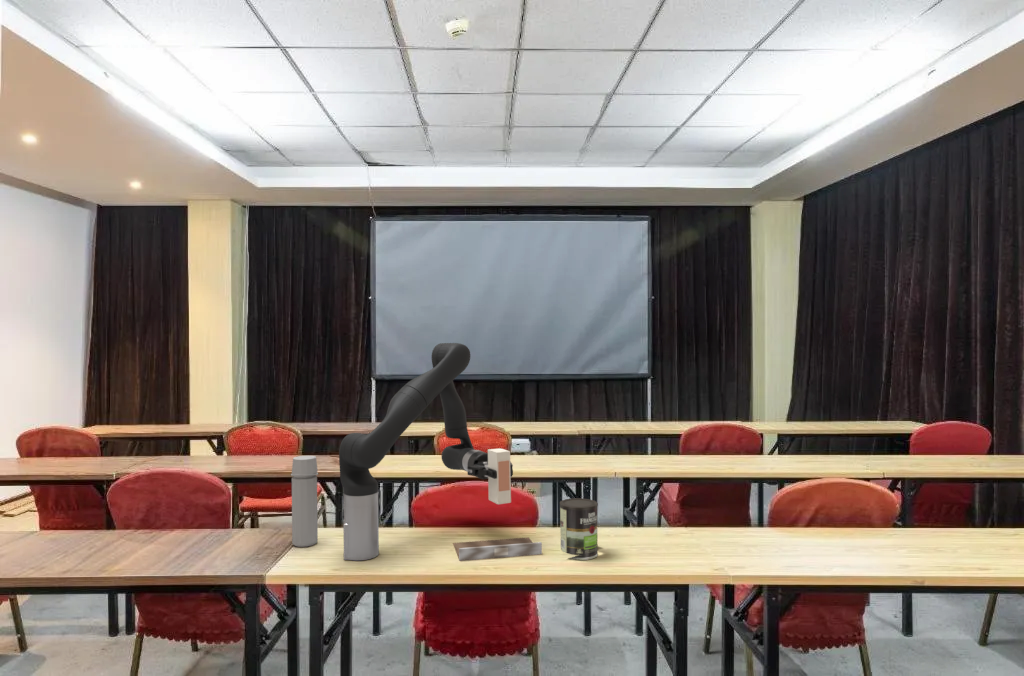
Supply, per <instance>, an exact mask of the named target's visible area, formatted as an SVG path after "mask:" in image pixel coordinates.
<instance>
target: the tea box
mask: <svg viewBox="0 0 1024 676" xmlns="http://www.w3.org/2000/svg"><path fill="white" fill-rule="evenodd" d="M487 453H488V467H490V469H494V470H496V471H497V479H493V478H491V477H488V478H487V479H488V481H487V484H488V485H487V487H488V501H490V502H492V503H494V504H496V505H504V504H510V503H512V486H511V484H512V483H511V482H512V481H511V479H512V477H511V475H510V462H511V451H510V450H507V449H504V448H490V449H487Z"/></svg>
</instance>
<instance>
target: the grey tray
mask: <svg viewBox="0 0 1024 676" xmlns="http://www.w3.org/2000/svg"><path fill="white" fill-rule="evenodd" d="M452 545H453V548H454V551H455V553H456V556H457V558H458V561H460V562H463V561H476V560H489V559H500V558H514V557H526V556H537V555H538V556H540V555H542V554H543V551H542V549H543V546H542V545H543V543H542V541H538V542H537V541H536V542H535V541H534V542H533V541H532V540H531V539H530V537H517V538H516V537H515V538H502V539H489V540H475V541H464V542H463V541H461V542H453V543H452Z"/></svg>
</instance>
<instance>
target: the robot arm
mask: <svg viewBox="0 0 1024 676" xmlns="http://www.w3.org/2000/svg"><path fill="white" fill-rule="evenodd" d="M470 360H471V350H470V349H469V348H468V346H467V345H466V344H464V343H459V342H443V343H442V342H441V343H438V344H436V345H435V346H434V347H433V349H432V352H431V364H432V368H431V369H429V370H428V371H426V372H424V373H422V374H420V375H418V376H416V377H415V378H412V379H411V380H409V381H408V382H407V383H405V385H403V386H402V387H401V388H400V389H399V390H398V391H397V392H396V393H395V394H394V396H393V397H392V398H391V399H390V402H389V404H388V406H387V411H386V415H385V417H384V418H383V420H381V422H380V423H379V424H378V425H377V426H376V427H375V428H374V429H373V430H372V431H371V432H369V433H361V432H360V433H359V432H351V433H348V434H347V435H346V436H344V438H342V440H341V443H340V445H339V451H338V461H339V462H338V463H339V475H340V476H339V479H340V480H339V481H340V483H341V486H342V488H343V526H342V530H343V560H345V561H346V560H350V561H365V560H366V561H367V560H371V559H374V558H376V557H377V556H379V554H380V552H379V551H380V543H379V542H380V541H379V537H380V536H379V533H380V532H379V527H380V526H379V483H378V481H377V479H376V478H375V477H374V476H373V475H372V473H371V472H370V470H371V469H373V468H375V467H376V466H378V465H379V464H380V463H381V462H382V460H383V459H384V458H385V457H386V455H387V454H388V452H389V451H390V450H391V448H392V447H393V446H394V444H395V443H396V442H397V441H398V439H399V438H400V437H401V435H402V434H403V433H404V432H405V431H406V430H407V429H408V428H409V427H410V426H411V424H412V423H413V422H414V421H415V420H416V419H417V418H418V417H419V416H420V415H421V414H422V413H423V412H424V411H425V410H426V409H427V408H428V406H429V405H430V404H431V403H432V402H433V401H434V399H435V398H437V397H438V395H439V396H440V397H439V398H440V401H441V406H442V412H443V421H444V422H443V423H444V432H445V436H446V437H447V438H448V439H452V440H453V439H456V440H457V439H458V440H460V443H459V444H453V445H448V446H446V447H445V448H443V450H442V452H441V456H440V457H441V462H442V464H443V465H444V466H445V467H446V468H447V469H449V470H456V471H464V472H467V476H471V477H472V476H473V477H476V478H477V479H480V480H486V479H488V477H491V478H493V479H497V471H496V470H494V469H490V467H488V452H485V451H482V450H480V449H475V448H474V445H473V442H472V440H471V437H470V434H469V431H468V423H467V412H466V408H465V405H464V403H463V401H462V399H461V397H460V396H459V394H458V393H459V392H457V389H456V387H455V384H454V380H455V379H456V378H457V377H459V375H461V374H462V373H463V372H464V371H465V370H466V369H467V367H468V366H469V364H470V362H471V361H470ZM513 466H514V465H513V463H512V462H511V461H510V475H511V478H512V477H513V475H514V470H513Z"/></svg>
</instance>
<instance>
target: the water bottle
mask: <svg viewBox="0 0 1024 676" xmlns="http://www.w3.org/2000/svg"><path fill="white" fill-rule="evenodd" d="M318 472H319V471H318V462H317V456H316V455H299V456H294V457H293V458H292V466H291V473H290V476H291V532H292V533H291V538H292V539H291V541H292V542H291V544H292V546H295V547H297V548H307V547H310V546H311V547H312V546H314V545H315V544H317V542H318V537H319V536H318V535H319V533H318V524H319V523H318V475H319V473H318Z"/></svg>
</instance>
